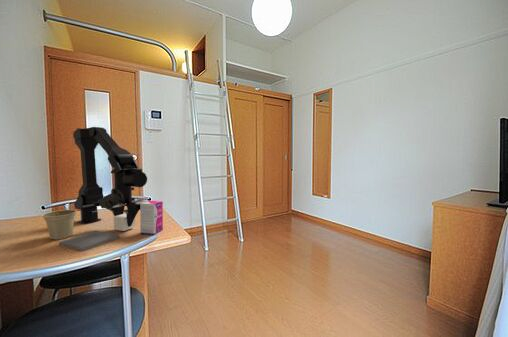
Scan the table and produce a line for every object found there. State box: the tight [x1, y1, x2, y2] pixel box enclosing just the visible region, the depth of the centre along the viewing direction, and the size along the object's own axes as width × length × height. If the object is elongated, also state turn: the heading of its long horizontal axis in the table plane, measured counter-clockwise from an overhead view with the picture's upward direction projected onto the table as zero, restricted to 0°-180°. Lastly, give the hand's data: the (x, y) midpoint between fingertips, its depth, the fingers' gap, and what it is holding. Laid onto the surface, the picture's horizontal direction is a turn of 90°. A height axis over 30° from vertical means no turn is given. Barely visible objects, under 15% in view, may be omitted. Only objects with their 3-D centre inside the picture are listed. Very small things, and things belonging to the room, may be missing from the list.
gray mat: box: [58, 230, 120, 252], centre depth 79 cm, size 12×12×1 cm
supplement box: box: [139, 199, 164, 236], centre depth 88 cm, size 6×6×12 cm
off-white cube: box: [113, 212, 136, 232], centre depth 91 cm, size 5×5×5 cm
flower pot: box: [41, 209, 78, 241], centre depth 83 cm, size 9×9×9 cm
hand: (124, 225), depth 91 cm, fingers closed on off-white cube, 5 cm apart
